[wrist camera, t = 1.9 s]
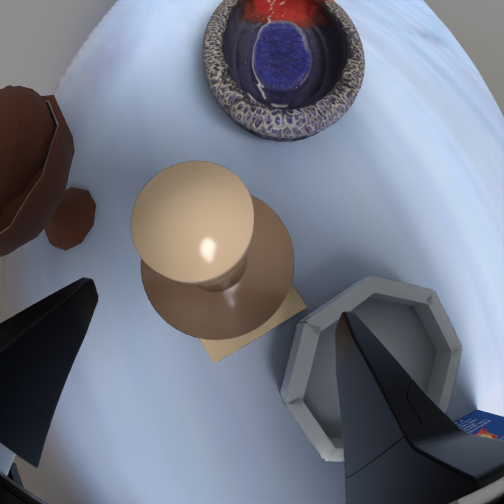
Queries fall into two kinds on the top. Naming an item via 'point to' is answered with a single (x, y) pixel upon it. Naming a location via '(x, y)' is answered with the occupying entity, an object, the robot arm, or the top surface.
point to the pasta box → (482, 424)
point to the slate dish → (391, 336)
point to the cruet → (210, 251)
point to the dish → (283, 65)
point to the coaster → (228, 346)
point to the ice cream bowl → (38, 174)
